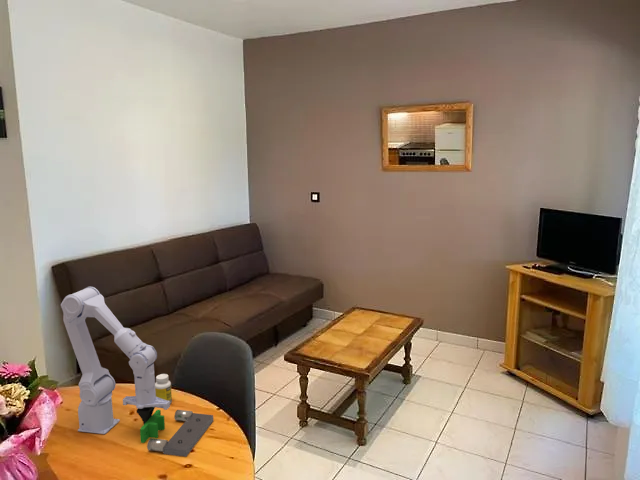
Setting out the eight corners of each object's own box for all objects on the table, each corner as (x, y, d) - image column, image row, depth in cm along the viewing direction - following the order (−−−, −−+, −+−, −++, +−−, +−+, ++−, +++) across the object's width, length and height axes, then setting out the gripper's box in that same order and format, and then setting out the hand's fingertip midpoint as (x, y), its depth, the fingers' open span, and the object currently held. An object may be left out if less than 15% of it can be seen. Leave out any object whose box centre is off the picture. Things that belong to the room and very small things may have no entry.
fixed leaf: (147, 452, 141) (146, 442, 140) (179, 416, 160) (178, 407, 159) (185, 457, 139) (185, 446, 138) (213, 420, 157) (213, 411, 157)
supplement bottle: (169, 407, 166) (167, 380, 164) (153, 407, 166) (151, 380, 164) (174, 399, 171) (172, 372, 169) (158, 399, 171) (156, 372, 169)
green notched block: (152, 444, 145) (151, 430, 144) (140, 443, 146) (139, 429, 145) (169, 423, 156) (168, 410, 155) (157, 422, 156) (157, 409, 156)
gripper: (115, 390, 146) (118, 432, 149) (160, 395, 143) (163, 437, 146) (129, 379, 153) (132, 419, 155) (172, 384, 150) (174, 424, 153)
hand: (147, 427), depth 151 cm, fingers closed, pressing on green notched block
